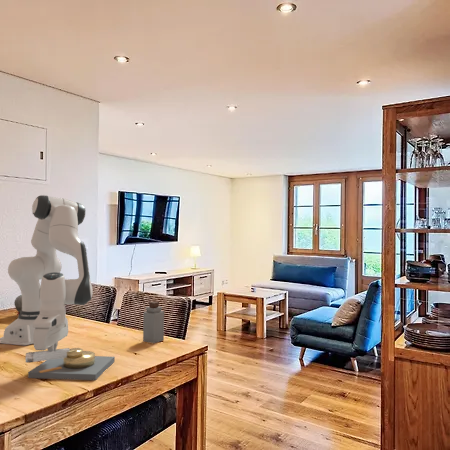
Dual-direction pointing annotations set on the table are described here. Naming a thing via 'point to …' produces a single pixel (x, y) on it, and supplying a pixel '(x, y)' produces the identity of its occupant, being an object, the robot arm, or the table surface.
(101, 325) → the table surface
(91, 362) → the dial
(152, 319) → the perfume bottle
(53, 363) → the stand plate
